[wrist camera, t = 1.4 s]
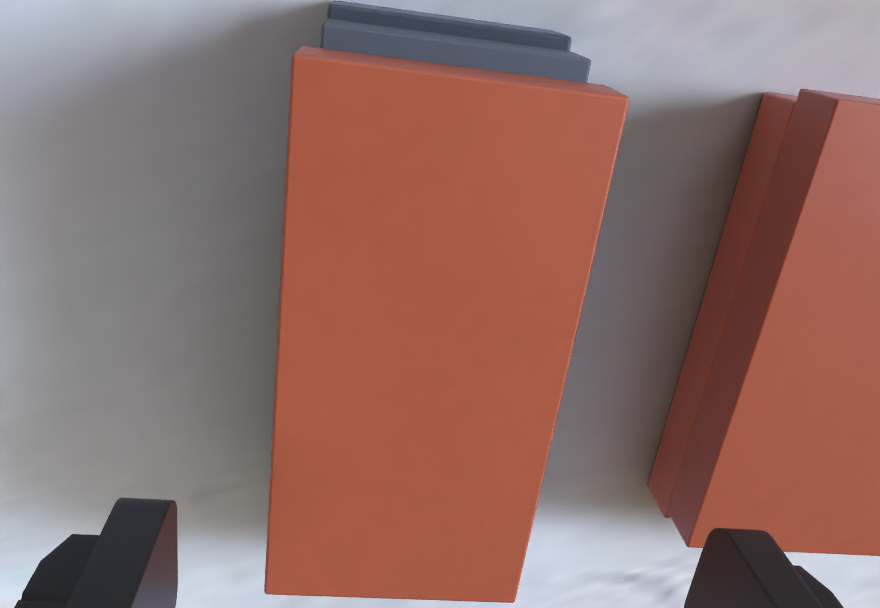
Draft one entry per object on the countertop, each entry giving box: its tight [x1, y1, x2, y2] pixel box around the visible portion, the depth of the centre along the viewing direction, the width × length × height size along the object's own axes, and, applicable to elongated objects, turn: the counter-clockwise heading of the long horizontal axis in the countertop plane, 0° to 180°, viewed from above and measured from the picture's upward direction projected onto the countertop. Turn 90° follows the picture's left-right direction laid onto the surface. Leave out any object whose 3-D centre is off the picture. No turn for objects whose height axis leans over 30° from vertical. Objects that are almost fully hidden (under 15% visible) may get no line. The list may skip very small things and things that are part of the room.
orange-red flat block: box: [648, 89, 880, 556], centre depth 21 cm, size 13×6×3 cm, turn 172°
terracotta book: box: [264, 46, 629, 603], centre depth 17 cm, size 12×6×2 cm, turn 172°
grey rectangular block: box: [321, 1, 591, 83], centre depth 19 cm, size 14×5×4 cm, turn 172°
